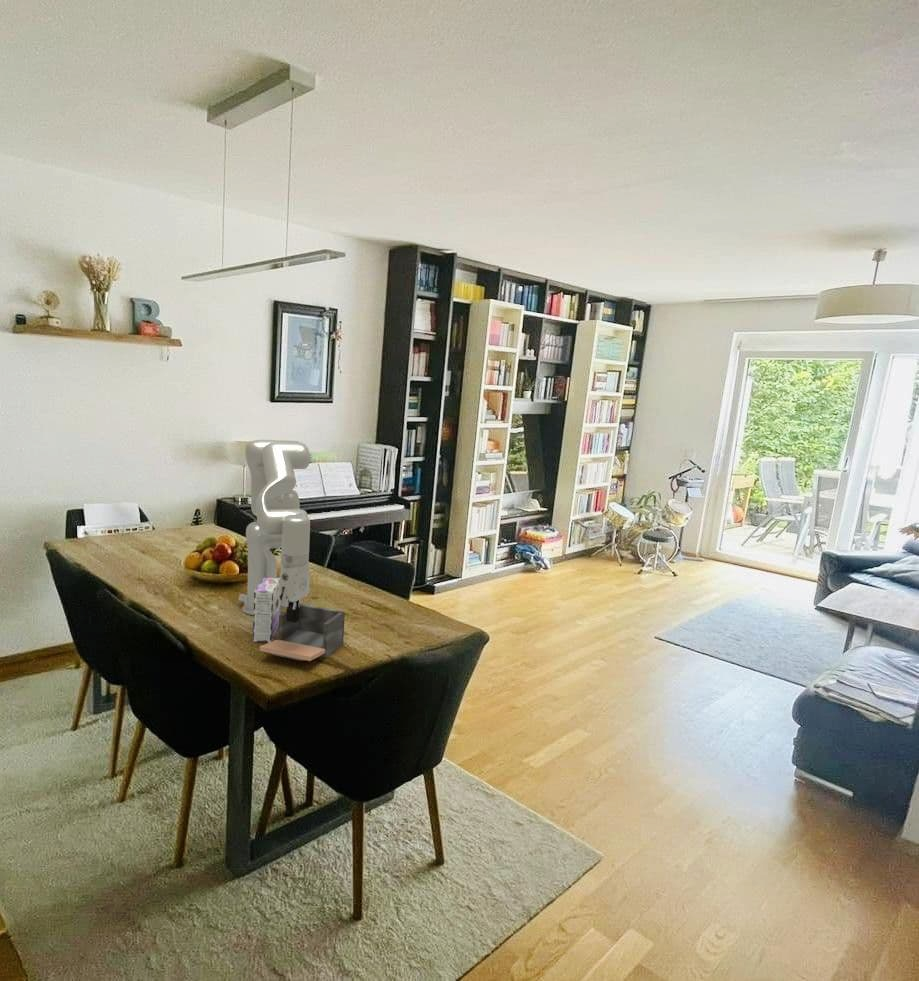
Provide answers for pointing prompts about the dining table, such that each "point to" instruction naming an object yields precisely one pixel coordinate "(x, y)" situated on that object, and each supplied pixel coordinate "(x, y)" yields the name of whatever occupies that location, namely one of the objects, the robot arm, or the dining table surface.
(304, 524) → the robot arm
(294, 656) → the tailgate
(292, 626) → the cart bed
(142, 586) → the dining table surface
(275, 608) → the candy box
